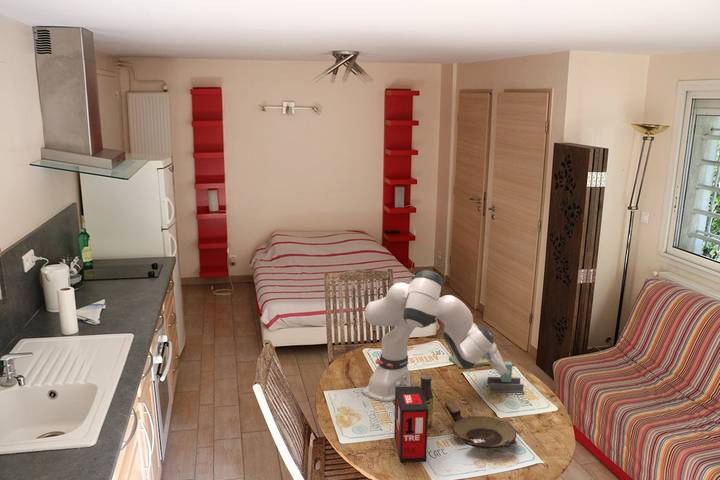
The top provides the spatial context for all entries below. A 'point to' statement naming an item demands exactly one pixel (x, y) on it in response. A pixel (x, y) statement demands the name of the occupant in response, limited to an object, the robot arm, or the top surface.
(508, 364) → the teal ridged block
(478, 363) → the washcloth
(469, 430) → the frying pan
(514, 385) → the slotted rack
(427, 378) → the sauce bottle
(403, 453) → the cleaning product box
